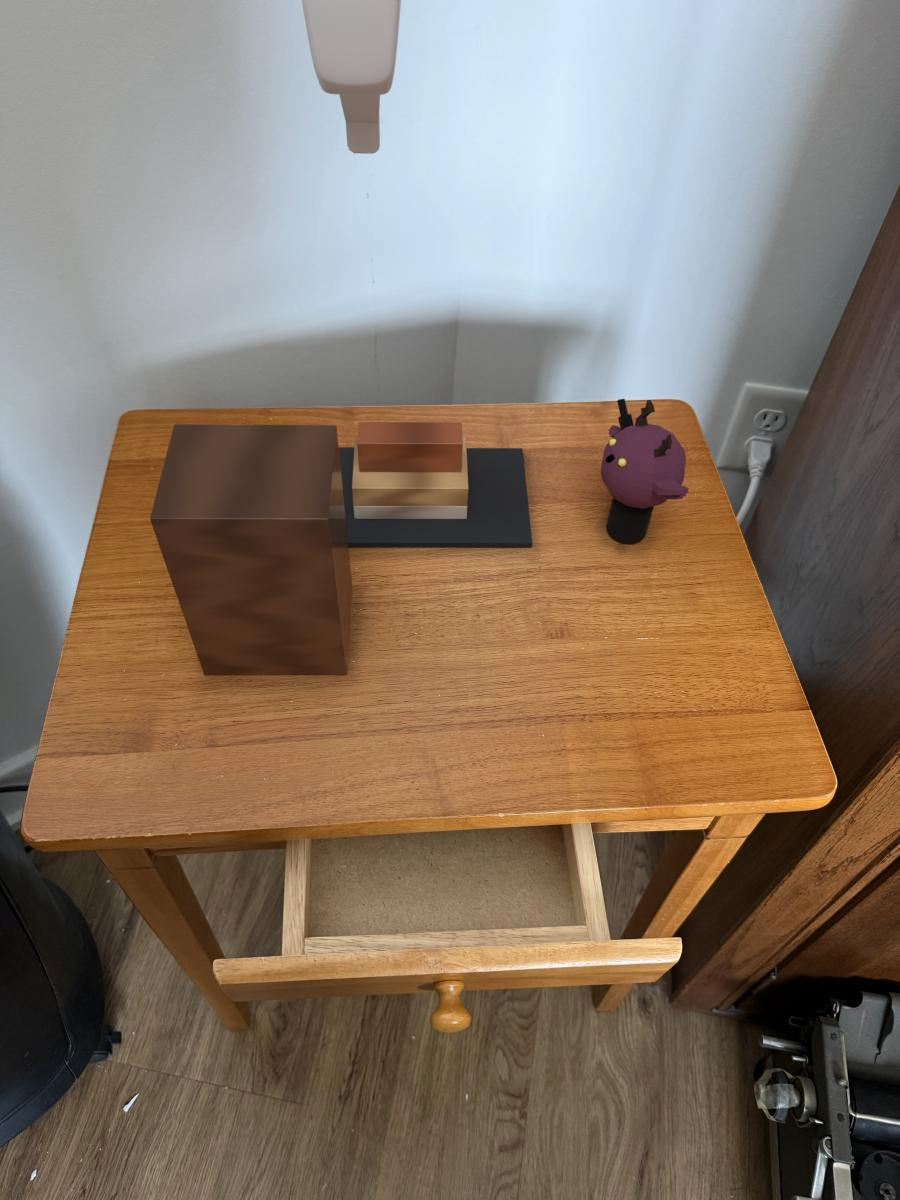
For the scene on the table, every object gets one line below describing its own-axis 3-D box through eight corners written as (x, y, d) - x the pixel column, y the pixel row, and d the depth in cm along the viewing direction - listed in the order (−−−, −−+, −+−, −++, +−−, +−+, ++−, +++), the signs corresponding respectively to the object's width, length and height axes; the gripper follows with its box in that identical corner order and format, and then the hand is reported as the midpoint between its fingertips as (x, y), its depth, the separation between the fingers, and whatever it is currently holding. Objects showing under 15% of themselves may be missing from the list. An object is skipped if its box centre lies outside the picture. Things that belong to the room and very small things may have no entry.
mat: (278, 547, 70) (277, 542, 69) (290, 451, 77) (290, 446, 76) (531, 547, 71) (532, 542, 70) (521, 453, 77) (522, 447, 77)
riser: (203, 675, 62) (149, 518, 50) (219, 587, 67) (173, 423, 55) (346, 675, 63) (328, 519, 50) (352, 587, 68) (336, 424, 55)
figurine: (600, 482, 75) (626, 365, 66) (691, 515, 73) (730, 399, 64) (563, 543, 71) (584, 428, 62) (658, 581, 69) (695, 467, 59)
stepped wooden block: (354, 519, 71) (349, 459, 66) (357, 467, 75) (352, 406, 70) (466, 519, 72) (470, 459, 66) (464, 467, 75) (467, 407, 70)
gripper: (303, -244, 48) (325, 39, 59) (263, -142, 36) (300, 194, 47) (419, -241, 49) (420, 41, 59) (420, -137, 36) (420, 196, 47)
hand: (367, 110), depth 53 cm, fingers open, 8 cm apart
